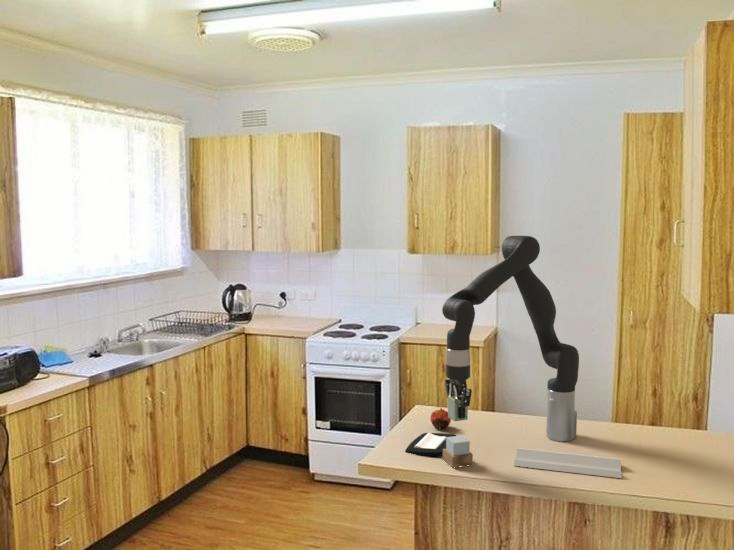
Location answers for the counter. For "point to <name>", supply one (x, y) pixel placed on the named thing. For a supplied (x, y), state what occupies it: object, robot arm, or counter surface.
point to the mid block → (457, 445)
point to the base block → (457, 459)
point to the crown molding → (568, 462)
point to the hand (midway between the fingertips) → (457, 415)
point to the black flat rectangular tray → (429, 444)
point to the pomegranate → (440, 419)
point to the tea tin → (455, 408)
